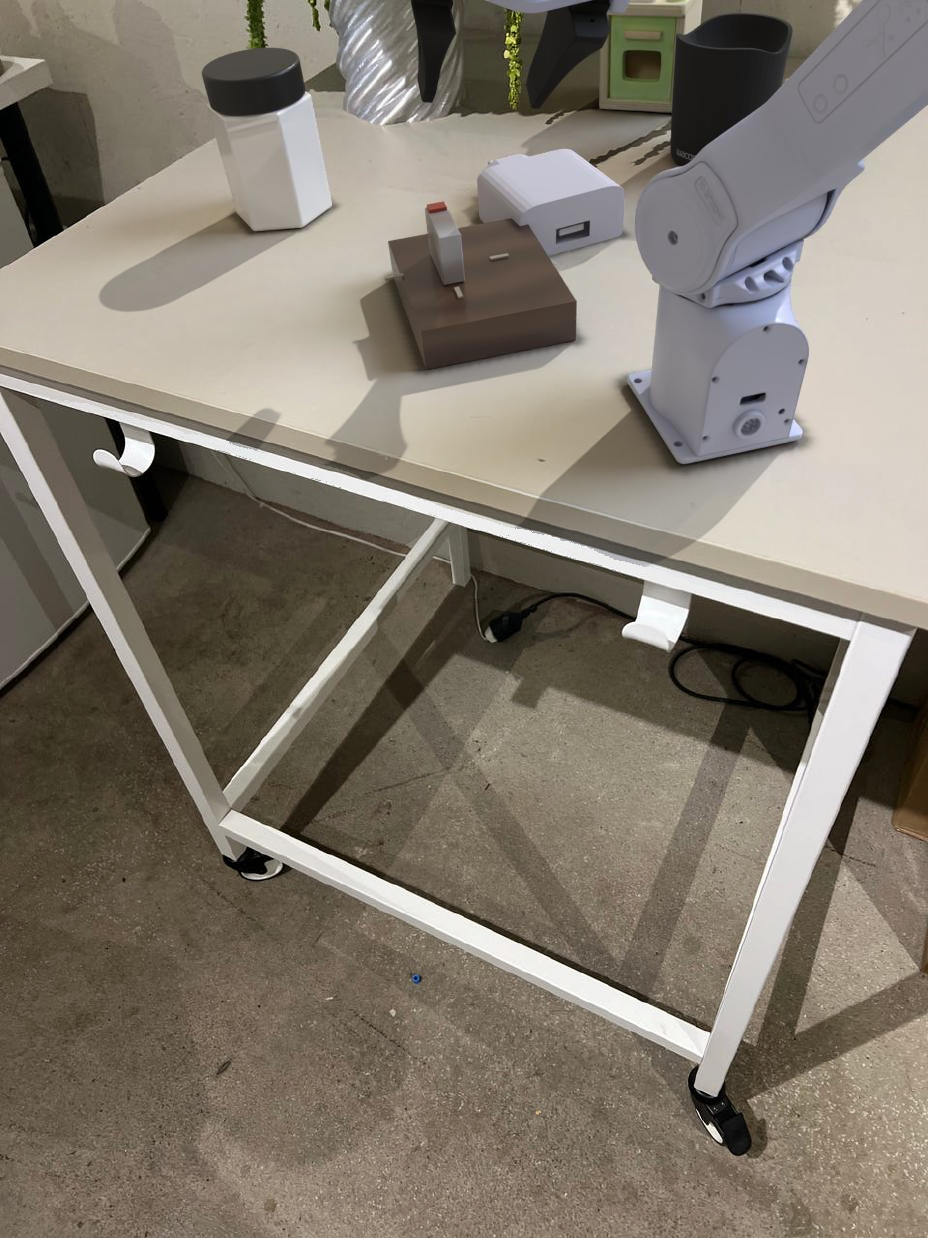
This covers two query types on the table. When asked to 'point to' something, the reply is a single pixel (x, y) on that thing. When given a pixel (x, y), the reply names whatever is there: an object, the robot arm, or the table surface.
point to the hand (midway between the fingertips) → (479, 93)
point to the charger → (553, 198)
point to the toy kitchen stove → (644, 54)
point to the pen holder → (724, 76)
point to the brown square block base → (483, 295)
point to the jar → (267, 137)
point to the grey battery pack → (444, 243)
